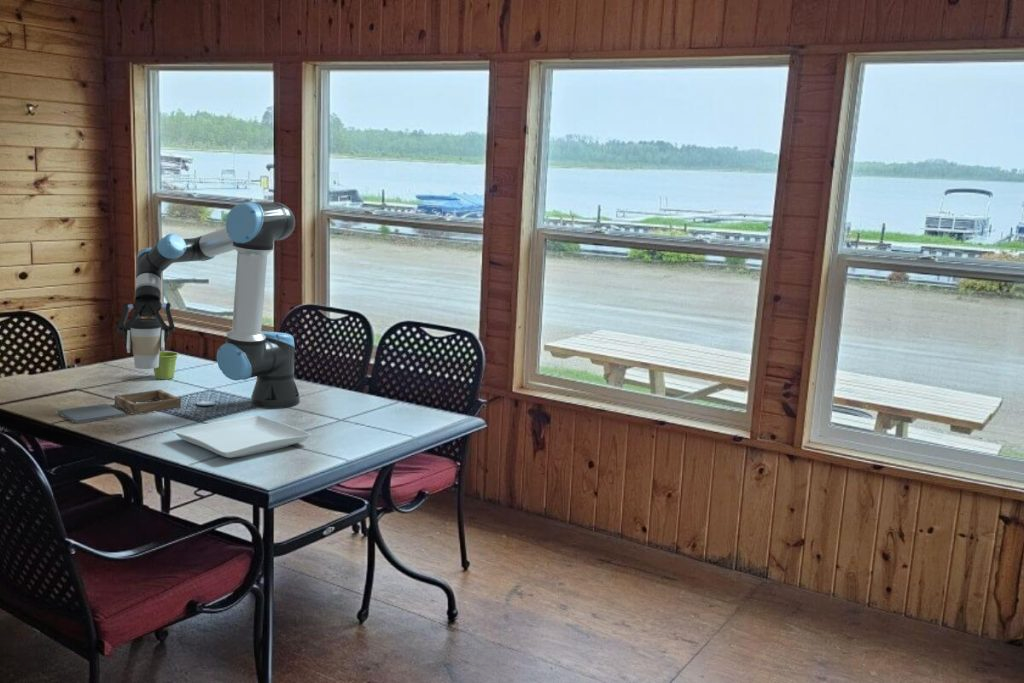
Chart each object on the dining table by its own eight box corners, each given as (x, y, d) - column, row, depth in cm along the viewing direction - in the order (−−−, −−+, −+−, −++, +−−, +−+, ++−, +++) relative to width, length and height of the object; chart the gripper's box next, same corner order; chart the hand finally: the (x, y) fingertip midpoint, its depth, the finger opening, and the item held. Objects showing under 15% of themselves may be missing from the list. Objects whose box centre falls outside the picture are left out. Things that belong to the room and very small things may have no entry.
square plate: (313, 446, 252) (313, 432, 251) (224, 466, 231) (224, 451, 231) (258, 425, 269) (258, 412, 269) (171, 442, 249) (171, 428, 248)
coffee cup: (149, 362, 286) (148, 315, 284) (169, 366, 282) (167, 318, 279) (124, 366, 279) (123, 318, 276) (143, 371, 274) (142, 321, 271)
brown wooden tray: (180, 408, 283) (180, 398, 282) (134, 415, 272) (134, 405, 272) (160, 398, 292) (159, 389, 292) (114, 405, 282) (114, 395, 282)
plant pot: (151, 375, 323) (150, 351, 322) (179, 374, 326) (178, 351, 325) (149, 381, 315) (148, 356, 313) (178, 380, 318) (177, 356, 316)
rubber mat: (125, 416, 271) (124, 413, 270) (76, 423, 261) (75, 420, 260) (106, 406, 280) (105, 403, 280) (58, 413, 270) (58, 410, 270)
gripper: (184, 298, 294) (184, 356, 282) (112, 298, 288) (108, 357, 276) (183, 284, 288) (183, 342, 276) (109, 283, 282) (105, 343, 270)
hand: (145, 350), depth 276 cm, fingers closed on coffee cup, 9 cm apart
